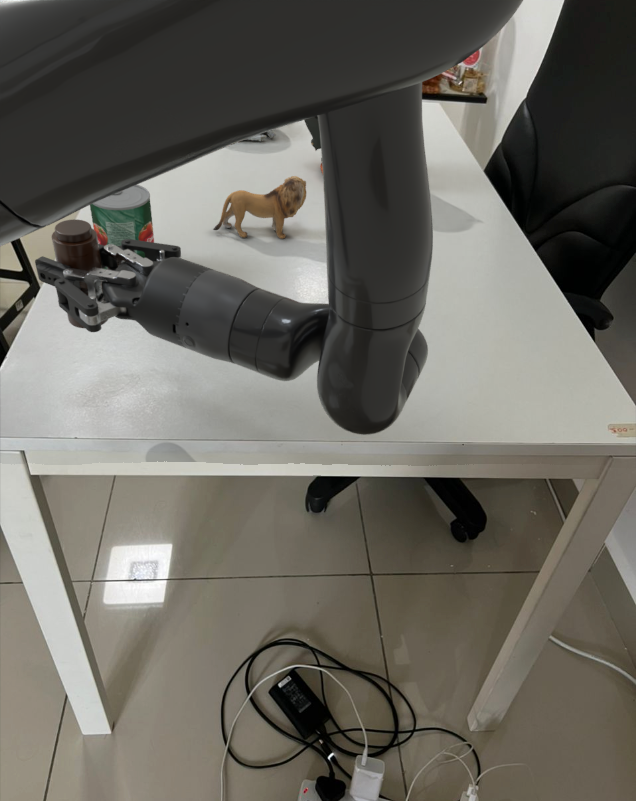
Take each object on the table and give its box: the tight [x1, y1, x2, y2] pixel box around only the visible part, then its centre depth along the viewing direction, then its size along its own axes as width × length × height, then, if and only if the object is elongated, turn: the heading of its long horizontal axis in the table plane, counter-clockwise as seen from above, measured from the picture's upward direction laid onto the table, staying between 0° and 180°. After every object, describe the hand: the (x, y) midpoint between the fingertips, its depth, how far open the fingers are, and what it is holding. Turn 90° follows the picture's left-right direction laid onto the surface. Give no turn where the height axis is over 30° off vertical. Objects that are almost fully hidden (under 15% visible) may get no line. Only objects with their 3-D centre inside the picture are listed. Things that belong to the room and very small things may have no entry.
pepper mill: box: [51, 219, 109, 329], centre depth 62 cm, size 4×4×10 cm
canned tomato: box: [89, 184, 155, 270], centre depth 88 cm, size 8×8×11 cm
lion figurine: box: [212, 175, 307, 240], centre depth 100 cm, size 15×5×9 cm, turn 103°
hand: (57, 257), depth 63 cm, fingers closed on pepper mill, 4 cm apart
